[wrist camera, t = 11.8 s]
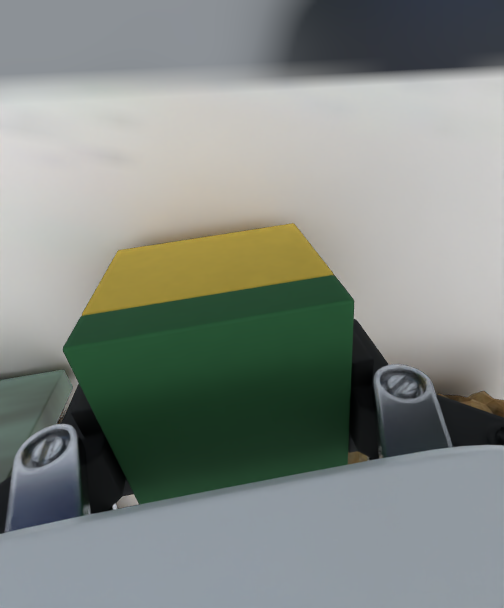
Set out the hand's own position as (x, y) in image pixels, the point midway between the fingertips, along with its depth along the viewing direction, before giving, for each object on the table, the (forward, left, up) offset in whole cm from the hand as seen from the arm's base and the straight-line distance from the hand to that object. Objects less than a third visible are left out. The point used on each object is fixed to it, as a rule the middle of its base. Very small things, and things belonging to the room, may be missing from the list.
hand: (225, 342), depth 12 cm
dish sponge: (0, 0, -1) cm, 1 cm away
